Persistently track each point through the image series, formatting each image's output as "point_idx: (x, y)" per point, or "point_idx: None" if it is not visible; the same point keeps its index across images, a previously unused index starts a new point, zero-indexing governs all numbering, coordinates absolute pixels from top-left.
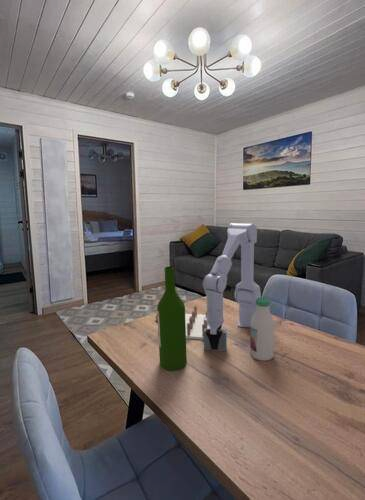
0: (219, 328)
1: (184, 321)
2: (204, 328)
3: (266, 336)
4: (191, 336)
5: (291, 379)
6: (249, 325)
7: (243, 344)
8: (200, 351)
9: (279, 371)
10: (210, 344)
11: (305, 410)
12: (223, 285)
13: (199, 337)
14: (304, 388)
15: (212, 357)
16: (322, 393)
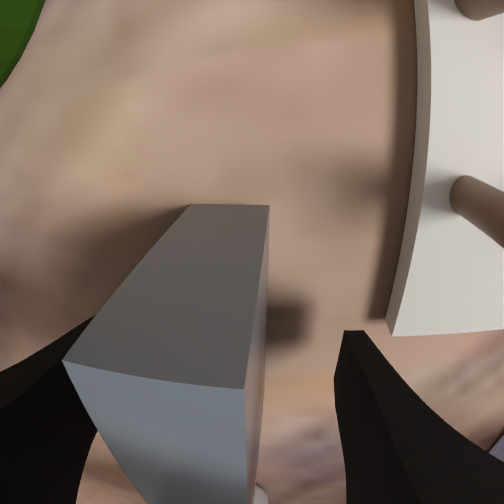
0: (349, 491)
1: None
2: (232, 390)
3: None
4: (430, 28)
5: (102, 490)
6: (495, 455)
7: (315, 457)
8: (141, 172)
9: (124, 488)
10: (58, 342)
11: None
12: None
13: (427, 135)
14: (84, 490)
15: (87, 291)
16: (88, 500)
